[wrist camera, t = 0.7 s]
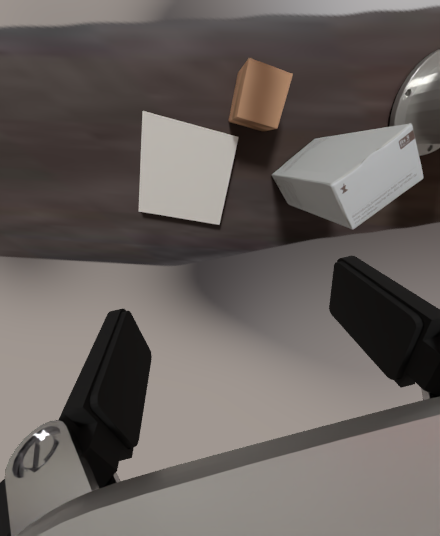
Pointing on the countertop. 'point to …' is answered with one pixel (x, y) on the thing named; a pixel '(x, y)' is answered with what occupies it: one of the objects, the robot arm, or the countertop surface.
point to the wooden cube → (259, 96)
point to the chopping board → (184, 169)
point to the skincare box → (351, 173)
